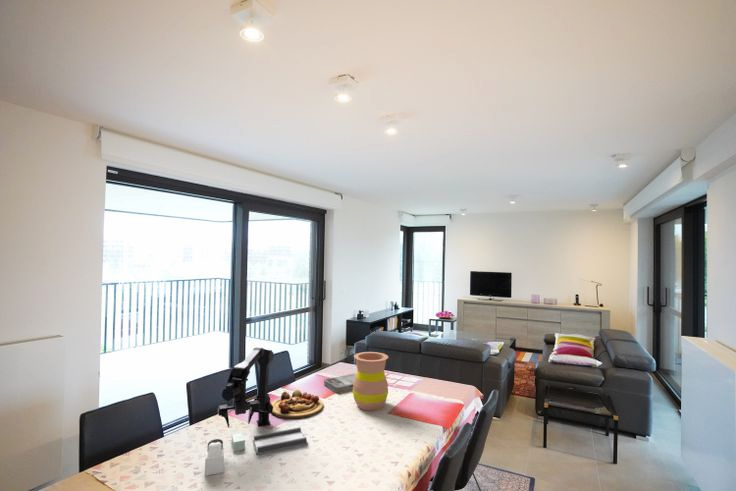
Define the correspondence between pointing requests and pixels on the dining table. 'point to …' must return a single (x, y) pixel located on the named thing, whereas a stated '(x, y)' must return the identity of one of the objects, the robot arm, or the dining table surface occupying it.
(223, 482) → the dining table surface
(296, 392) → the wooden plate with food
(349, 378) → the hard drive
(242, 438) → the block
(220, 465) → the white handled block
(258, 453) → the rail board
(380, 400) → the vase
